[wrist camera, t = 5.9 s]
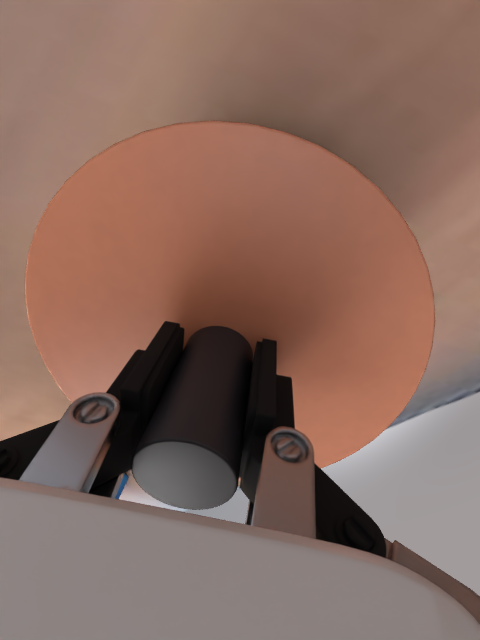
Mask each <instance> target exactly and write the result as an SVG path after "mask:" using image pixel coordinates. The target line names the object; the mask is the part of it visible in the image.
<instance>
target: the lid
mask: <svg viewBox="0 0 480 640" xmlns="http://www.w3.org/2000/svg"><path fill="white" fill-rule="evenodd" d="M25 298H26V305H27V312H28V319H29V323H30V326H31V330H32V333H33V337H34V340H35V343H36V345H37V348H38V350H39V352H40V355H41V357H42V359H43V361H44V363H45V365H46V367H47V368H48V370H49V372H50V374H51V375H52V377H53V379H54V380H55V382H56V383H57V385H58V386H59V387H60V389H61V390H62V391H63V393H64V394H65V396H66V397H67V398H68V399H69V400H70V401H71V402H72V403H73V402H74V401H75V400H77V399H78V398H80V397H81V396H84V395H87V394H90V393H95V392H104V393H106V392H107V390H108V389H109V387H110V386H111V385H112V383H113V382H114V380H115V379H116V378H117V376H118V375H119V373H120V372H121V371H122V369H123V368H124V366H125V365H126V364H127V362H128V361H129V359H130V358H131V357H132V355H133V354H134V352H135V351H136V350H138V349H140V350H146V348H147V347H148V345H149V344H150V342H151V341H152V339H153V338H154V336H155V335H156V333H157V332H158V330H159V329H160V327H161V326H162V324H163V323H164V322H165V321H169V322H175V323H179V324H180V327H182V328H184V344H183V352H182V354H181V356H180V358H179V360H178V362H177V364H176V367H175V369H174V371H173V373H172V375H171V377H170V379H169V381H168V383H167V385H166V388H165V390H164V392H163V394H162V396H161V398H160V400H159V402H158V404H157V406H156V409H155V411H154V413H153V415H152V417H151V419H150V421H149V423H148V425H147V427H146V430H145V432H144V434H143V436H142V438H141V440H140V442H139V444H138V446H137V448H136V450H135V453H134V455H133V457H132V461H131V469H132V474H133V477H134V478H135V480H136V482H137V483H138V485H139V486H140V487H141V488H142V489H143V490H144V491H145V492H146V493H148V494H149V495H150V496H152V497H154V498H155V499H157V500H159V501H161V502H163V503H166V504H168V505H171V506H174V507H178V508H183V509H192V510H200V509H209V508H214V507H217V506H220V505H222V504H224V503H225V502H227V501H228V500H229V499H230V498H231V497H232V496H233V495H234V493H235V492H236V490H237V487H238V481H240V480H241V478H240V477H239V473H240V465H241V456H242V448H243V434H244V426H245V418H246V410H247V402H248V394H249V386H250V378H251V370H252V362H253V357H254V352H255V347H256V343H257V341H260V342H262V340H263V338H264V339H270V340H275V341H277V370H276V374H277V375H282V376H288V377H291V378H292V387H293V404H294V422H295V429H297V430H299V431H300V432H302V433H303V434H305V435H306V436H307V438H308V439H309V440H310V441H311V443H312V445H313V449H314V463H315V464H316V465H317V466H318V467H319V468H320V469H321V468H323V467H326V466H328V465H330V464H333V463H335V462H338V461H340V460H342V459H344V458H346V457H347V456H349V455H351V454H353V453H355V452H356V451H358V450H360V449H361V448H362V447H364V446H365V445H367V444H368V443H370V442H371V441H373V440H374V439H375V438H376V437H377V436H379V434H381V433H382V432H383V431H384V430H385V429H386V428H387V427H389V426H390V425H391V424H392V422H393V421H394V420H395V419H396V418H397V417H398V415H399V414H400V413H401V412H402V411H403V410H404V408H405V407H406V405H407V404H408V402H409V401H410V399H411V398H412V396H413V394H414V393H415V391H416V390H417V387H418V385H419V383H420V381H421V379H422V377H423V374H424V372H425V370H426V367H427V363H428V360H429V356H430V353H431V349H432V344H433V336H434V327H435V308H434V293H433V289H432V284H431V280H430V275H429V270H428V267H427V264H426V262H425V259H424V257H423V254H422V252H421V249H420V247H419V244H418V242H417V239H416V238H415V236H414V235H413V233H412V231H411V230H410V228H409V226H408V225H407V223H406V221H405V220H404V218H403V217H402V215H401V213H400V212H399V211H398V210H397V209H396V207H395V206H394V205H393V204H392V203H391V202H390V200H389V199H388V198H387V197H386V196H385V195H384V193H383V192H382V191H381V190H380V189H379V188H378V187H377V186H376V185H375V184H374V183H372V182H371V181H370V180H369V179H368V178H366V177H365V176H364V175H363V174H362V173H361V172H359V171H358V170H357V169H356V168H355V167H353V166H352V165H351V164H349V163H347V162H346V161H344V160H343V159H341V158H339V157H338V156H336V155H334V154H333V153H331V152H329V151H328V150H326V149H324V148H323V147H321V146H319V145H316V144H314V143H312V142H309V141H307V140H304V139H302V138H299V137H297V136H295V135H292V134H290V133H287V132H283V131H279V130H275V129H271V128H267V127H263V126H259V125H255V124H250V123H238V122H226V121H200V122H187V123H177V124H173V125H168V126H164V127H160V128H156V129H152V130H147V131H144V132H141V133H139V134H137V135H134V136H132V137H130V138H127V139H125V140H122V141H120V142H118V143H115V144H113V145H112V146H110V147H109V148H107V149H106V150H104V151H103V152H101V153H99V154H98V155H96V156H95V157H93V158H92V159H90V160H88V161H87V162H86V163H85V164H84V165H83V166H82V167H81V168H80V169H78V170H77V171H76V172H75V173H74V174H73V175H72V176H71V177H70V178H69V179H68V180H66V182H65V183H64V184H63V186H62V187H61V188H60V190H59V191H58V192H57V193H56V195H55V196H54V197H53V199H52V200H51V201H50V203H49V204H48V206H47V208H46V210H45V212H44V214H43V216H42V218H41V220H40V221H39V223H38V225H37V228H36V231H35V234H34V237H33V240H32V243H31V246H30V249H29V254H28V260H27V267H26V273H25Z"/></svg>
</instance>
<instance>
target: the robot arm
mask: <svg viewBox="0 0 480 640" xmlns="http://www.w3.org/2000/svg"><path fill="white" fill-rule="evenodd" d="M183 344H184V328H182V327H180V324H179V323H175V322H169V321H165V322H164V323H163V324H162V326H161V327H160V329H159V330H158V332H157V333H156V335H155V336H154V338H153V339H152V341H151V342H150V344H149V345H148V347H147V348H146V350H140V349H138V350H136V351H135V352H134V354H133V355H132V357H131V358H130V359H129V361H128V362H127V364H126V365H125V366H124V368H123V369H122V371H121V372H120V373H119V375H118V376H117V378H116V379H115V380H114V382H113V383H112V385H111V386H110V387H109V389H108V390H107V392H106V393H104V392H95V393H90V394H87V395H84V396H81V397H80V398H78V399H77V400H75V401H74V402H73V403H72V404H71V405H70V406H69V408H68V409H67V411H66V412H65V413H64V415H63V416H62V418H61V419H60V420H58V421H55V422H53V423H50V424H47V425H44V426H42V427H39V428H36V429H33V430H30V431H28V432H25V433H22V434H19V435H17V436H14V437H11V438H8V439H5V440H3V441H0V640H480V596H478V595H477V594H476V593H475V592H474V591H472V590H471V589H470V588H468V587H467V586H465V585H464V584H462V583H460V582H459V581H457V580H456V579H454V578H453V577H451V576H450V575H448V574H447V573H445V572H444V571H442V570H441V569H439V568H437V567H436V566H434V565H433V564H431V563H430V562H428V561H427V560H425V559H424V558H422V557H420V556H419V555H417V554H416V553H414V552H413V551H411V550H410V549H408V548H407V547H405V546H404V545H402V544H401V543H399V542H397V541H396V540H395V541H394V542H393V543H391V542H390V541H388V540H387V539H385V538H384V536H383V534H382V532H381V530H380V528H379V527H378V526H377V524H376V523H375V522H374V521H373V520H372V518H370V517H369V516H368V515H367V514H366V513H365V512H364V511H363V510H362V509H361V508H360V507H359V506H358V505H357V504H356V503H355V502H354V501H353V500H352V499H351V498H350V497H349V496H348V495H347V494H346V493H345V492H344V491H343V490H342V489H341V488H340V487H339V486H338V485H337V484H336V483H335V482H334V481H333V480H332V479H330V478H329V477H328V476H327V475H326V474H325V473H324V472H323V471H322V470H321V469H320V468H319V467H318V466H317V465H316V464H315V463H314V449H313V445H312V443H311V441H310V440H309V439H308V438H307V436H306V435H305V434H303V433H302V432H300V431H299V430H297V429H295V422H294V404H293V387H292V378H291V377H288V376H282V375H277V374H276V370H277V341H275V340H270V339H264V338H263V340H262V342H260V341H257V343H256V347H255V352H254V357H253V362H252V370H251V378H250V386H249V394H248V402H247V410H246V418H245V426H244V434H243V448H242V456H241V465H240V473H239V477H240V478H241V480H240V488H241V490H242V491H243V492H244V494H245V495H246V496H247V497H248V499H249V505H248V511H247V517H246V522H245V524H240V523H235V522H230V521H226V520H220V519H216V518H211V517H206V516H200V515H196V514H191V513H185V512H180V511H175V510H170V509H165V508H160V507H155V506H150V505H145V504H140V503H134V502H129V501H124V500H119V499H115V498H116V495H117V493H118V490H119V487H120V485H121V482H122V479H123V475H124V473H125V472H127V471H129V470H130V469H131V461H132V457H133V455H134V453H135V450H136V448H137V446H138V444H139V442H140V440H141V438H142V436H143V434H144V432H145V430H146V427H147V425H148V423H149V421H150V419H151V417H152V415H153V413H154V411H155V409H156V406H157V404H158V402H159V400H160V398H161V396H162V394H163V392H164V390H165V388H166V385H167V383H168V381H169V379H170V377H171V375H172V373H173V371H174V369H175V367H176V364H177V362H178V360H179V358H180V356H181V354H182V352H183Z"/></svg>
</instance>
